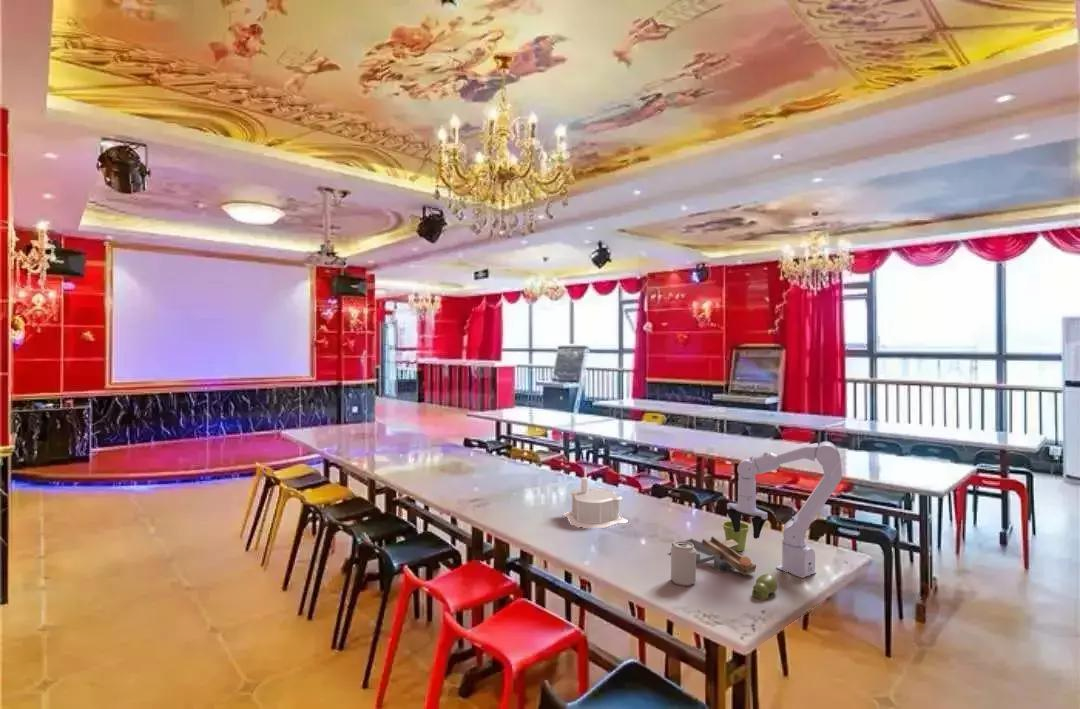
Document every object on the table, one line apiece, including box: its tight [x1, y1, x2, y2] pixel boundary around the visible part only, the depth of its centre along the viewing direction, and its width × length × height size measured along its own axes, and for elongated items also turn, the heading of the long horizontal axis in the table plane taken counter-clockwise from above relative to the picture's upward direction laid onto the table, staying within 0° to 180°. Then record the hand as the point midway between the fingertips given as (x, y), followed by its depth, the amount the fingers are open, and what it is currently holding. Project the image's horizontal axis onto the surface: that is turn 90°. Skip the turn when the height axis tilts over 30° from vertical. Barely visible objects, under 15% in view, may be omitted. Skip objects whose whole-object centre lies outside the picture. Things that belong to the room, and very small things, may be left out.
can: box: [670, 540, 697, 587], centre depth 173 cm, size 8×8×12 cm
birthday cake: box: [564, 466, 628, 528], centre depth 237 cm, size 30×29×22 cm
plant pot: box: [721, 520, 750, 552], centre depth 202 cm, size 9×9×9 cm
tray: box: [671, 538, 714, 564], centre depth 196 cm, size 12×10×3 cm
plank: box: [701, 535, 757, 576], centre depth 187 cm, size 18×13×2 cm
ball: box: [740, 556, 752, 568], centre depth 179 cm, size 4×4×4 cm
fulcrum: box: [708, 550, 737, 574], centre depth 186 cm, size 6×9×5 cm, turn 123°
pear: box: [751, 573, 779, 601], centre depth 165 cm, size 6×5×10 cm
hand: (746, 534), depth 190 cm, fingers open, 7 cm apart
